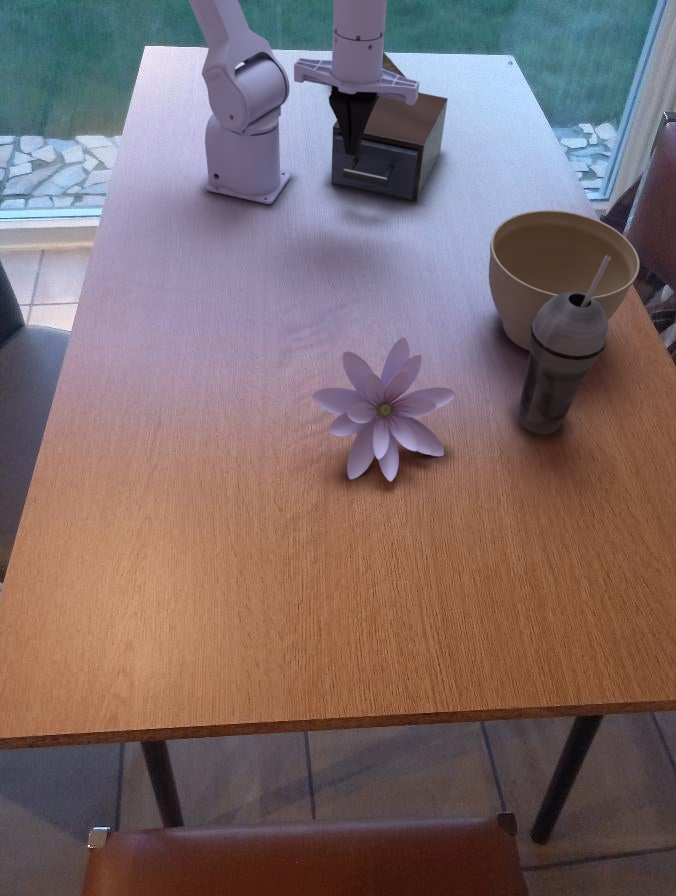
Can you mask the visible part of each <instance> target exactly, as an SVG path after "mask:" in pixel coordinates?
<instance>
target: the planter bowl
mask: <svg viewBox="0 0 676 896" xmlns="http://www.w3.org/2000/svg"><path fill="white" fill-rule="evenodd" d="M489 244H490V245H489V262H488V283H489V290H490V295H491V298H492V302H493V304H494V307H495V310H496V312H497V314H498V315H499V317H500V319H501V321H502V328H503V332H505V335H506V336H507V337H508V339H510V340H511V342H513V343H514V344H515V345H517V347H520V348H522V349H524V350H526V351H528V352H530V338H531V325H532V323H533V320H534V319H535V318H536V316H537V314H538V312H539V310H540V309H541V307H542V306H543V305H544V304H545V303H547V302H548V301H549V300H550V299H551V298H553V297H554V296H556V295H559V294H561V293H565V292H572V291H574V292H581V293H585V294H587V293H588V291H589V289H590V287H591V285H592V283H593V281H594V278H595V276H596V274H597V272H598V270H599V268H600V266H601V264H602V262H603V260H604V258H605V256H609V257H610V261H609V263H608V265H607V267H606V269H605V271H604V273H603V275H602V277H601V279H600V281H599V283H598V285H597V287H596V289H595V291H594V293H593V295H592V297H593V298H594V299H595V300H596V301H597V302H598V303H599V304H600V305H601V307H602V308H603V310H604V312H605V315H606V319H607V322H608V321H609V320H610V319H611V318H612V317H613V315H614V314H615V313H616V312H617V311H618V309H619V308H620V306H621V304H622V303H623V301H624V300H625V298H626V296H627V294H628V292H629V290H630V288H631V287H632V286H633V284H634V282H635V281H636V279H637V278H638V274H639V271H640V258H639V255H638V252H637V251H636V249H635V247H634V246H633V244H632V243H631V242H630V240H629V239H627V238H626V237H625V236H624V235H623V234H622V233H620V232H619V231H618V230H617V229H616V228H613V227H612V226H611V225H609V224H607V223H605V222H603V221H601V220H599V219H596V218H594V217H591V216H587V215H585V214H581V213H577V212H574V211H573V212H572V211H567V210H556V209H539V210H531V211H526V212H521V213H518V214H515V215H513V216H510V217H508V218H506V219H505V220H503V221H502V222H501V223H500V224H499V225H497V227H496V228H495V230H494V231H493V233H492V235H491V238H490V243H489Z"/></svg>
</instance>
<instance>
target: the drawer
mask: <svg viewBox="0 0 676 896" xmlns="http://www.w3.org/2000/svg"><path fill="white" fill-rule="evenodd" d="M418 153H419V151H418V150H417V149H412V148H407V147H402V146H400V147H396V146H392V145H387V144H382V143H377V142H372V141H368V139H364V138H362V141H361V146H360V150H359V151H358V153H357V155H356V156H353V155H348V154H345V149H344V143H343V138H342V135H339V134H337V135H336V136H335V138H334V161H333V183H337V184H342V185H347V186H351V187H356V188H360V189H365V190H370V191H374V192H379V193H383V194H388V195H393V196H397V197H402V198H406V199H412V197H413V195H414V186H415V178H416V170H417V161H418Z"/></svg>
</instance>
